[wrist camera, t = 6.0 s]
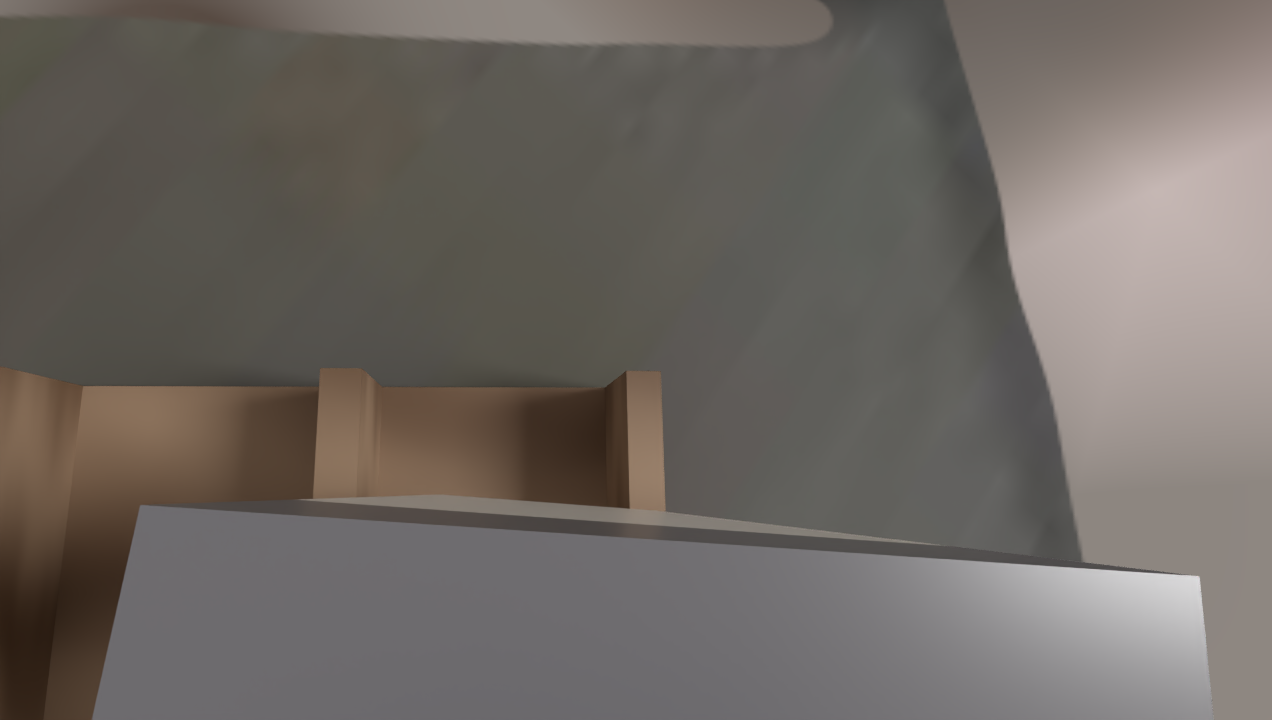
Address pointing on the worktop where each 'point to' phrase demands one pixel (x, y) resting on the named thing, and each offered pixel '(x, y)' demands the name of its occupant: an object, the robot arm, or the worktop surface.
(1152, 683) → the grey piece
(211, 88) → the worktop surface
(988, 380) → the worktop surface
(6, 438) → the comb rack
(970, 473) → the worktop surface
